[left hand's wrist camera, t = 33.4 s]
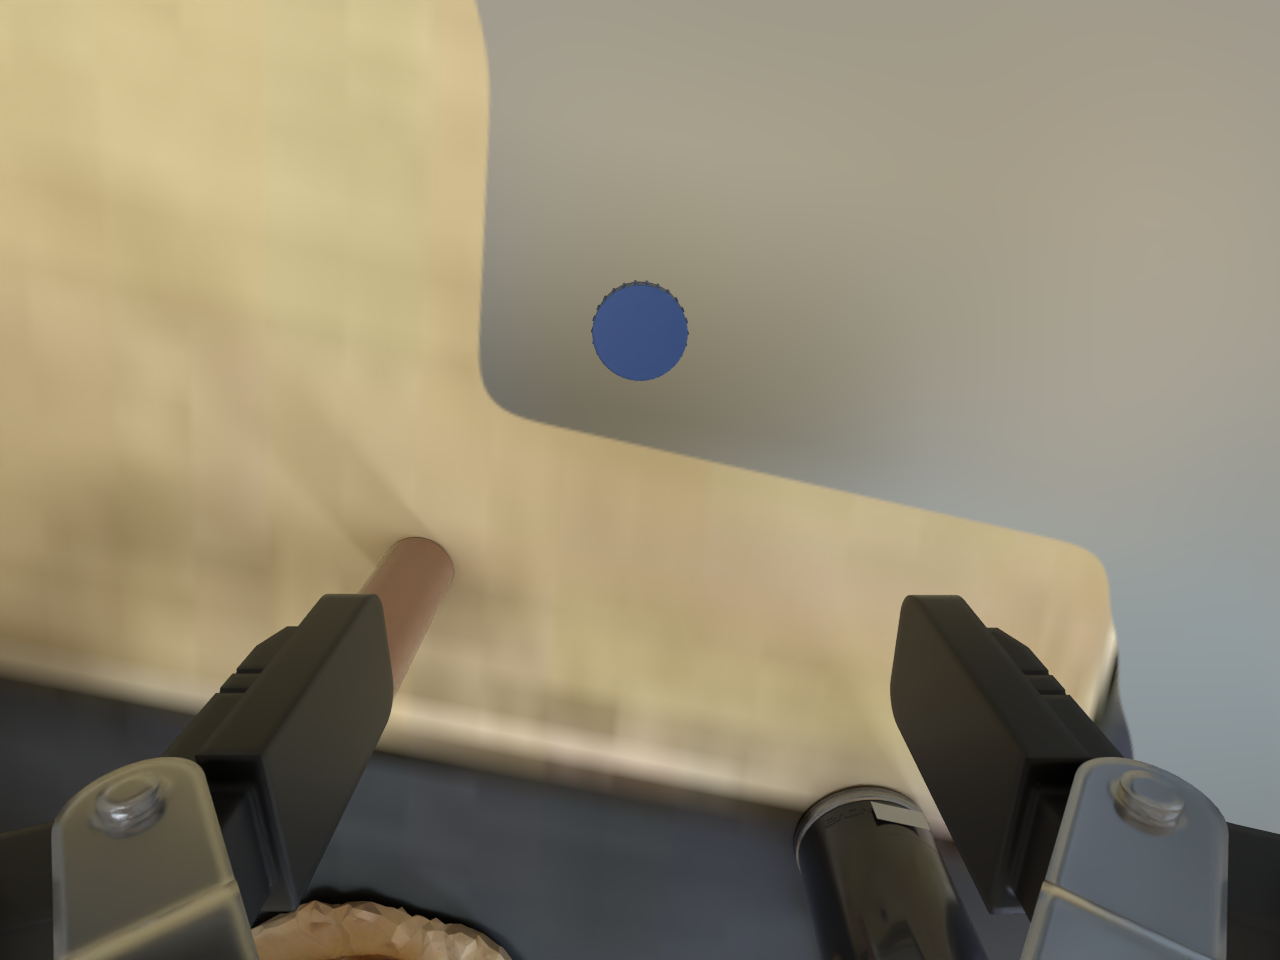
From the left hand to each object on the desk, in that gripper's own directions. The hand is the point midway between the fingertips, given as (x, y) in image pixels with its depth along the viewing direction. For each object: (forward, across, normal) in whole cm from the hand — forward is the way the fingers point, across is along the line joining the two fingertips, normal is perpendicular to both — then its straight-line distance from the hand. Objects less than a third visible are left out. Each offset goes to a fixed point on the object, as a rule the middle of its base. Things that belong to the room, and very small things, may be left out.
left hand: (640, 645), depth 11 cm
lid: (+28, 0, 0) cm, 28 cm away
